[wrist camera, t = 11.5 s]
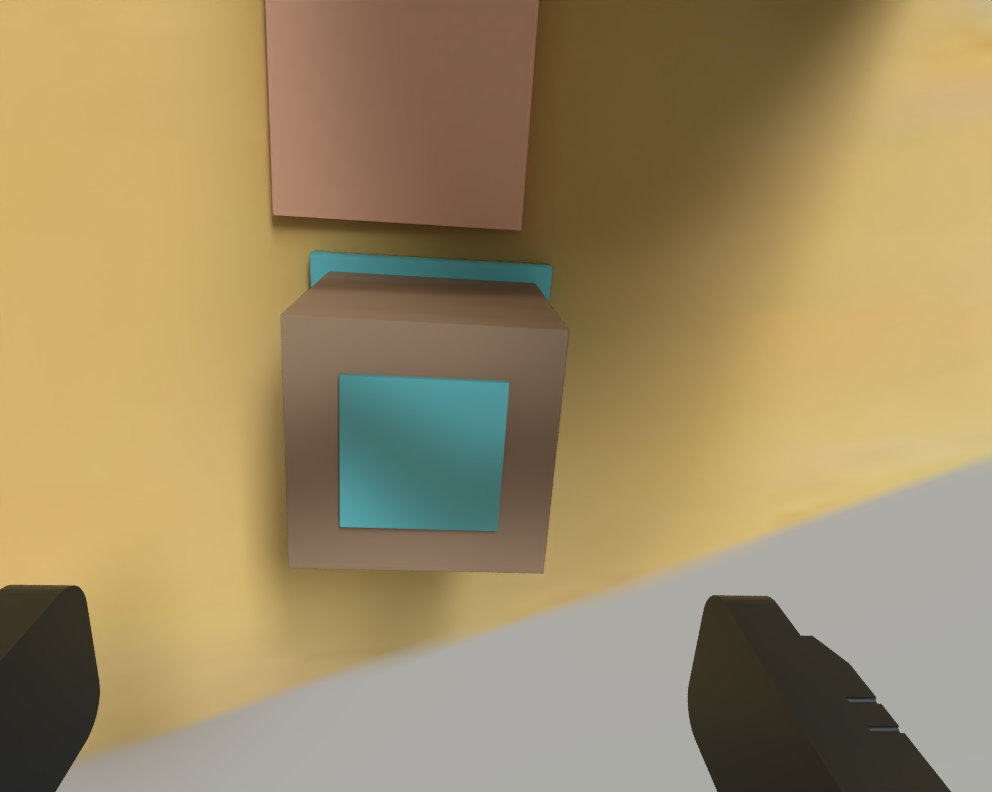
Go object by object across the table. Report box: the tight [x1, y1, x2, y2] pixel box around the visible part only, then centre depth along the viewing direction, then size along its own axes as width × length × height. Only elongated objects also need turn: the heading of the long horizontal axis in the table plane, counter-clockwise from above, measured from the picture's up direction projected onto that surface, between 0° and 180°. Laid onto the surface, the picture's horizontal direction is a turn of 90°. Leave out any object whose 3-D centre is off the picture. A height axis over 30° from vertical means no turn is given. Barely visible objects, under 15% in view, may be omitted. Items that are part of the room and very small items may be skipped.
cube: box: [281, 271, 569, 574], centre depth 18 cm, size 6×6×6 cm
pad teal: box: [310, 251, 553, 302], centre depth 21 cm, size 7×7×1 cm
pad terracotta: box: [265, 0, 539, 231], centre depth 19 cm, size 7×7×1 cm
